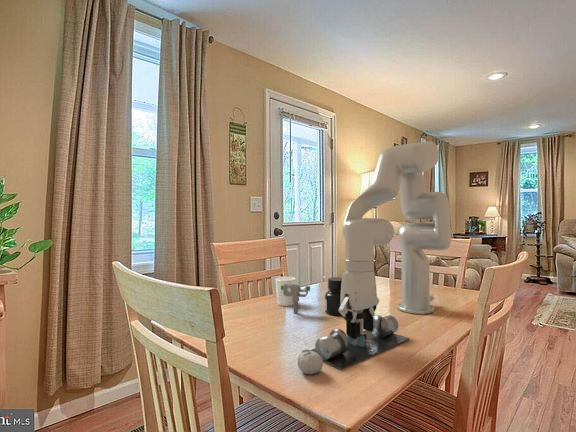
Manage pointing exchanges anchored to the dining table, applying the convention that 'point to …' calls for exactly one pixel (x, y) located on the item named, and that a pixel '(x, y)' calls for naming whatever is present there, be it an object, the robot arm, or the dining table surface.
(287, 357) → the dining table surface
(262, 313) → the dining table surface
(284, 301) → the white cup
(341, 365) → the plate with silver knobs
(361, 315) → the push button
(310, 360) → the garlic
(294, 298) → the mechanical component
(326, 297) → the ink bottle
